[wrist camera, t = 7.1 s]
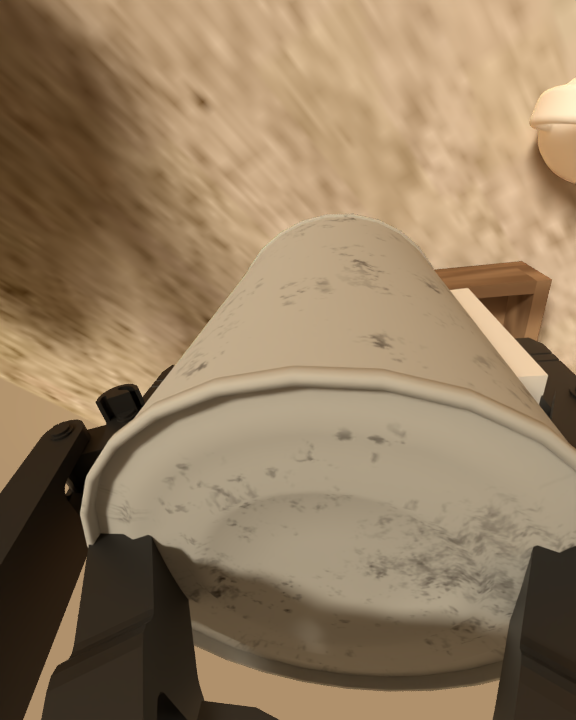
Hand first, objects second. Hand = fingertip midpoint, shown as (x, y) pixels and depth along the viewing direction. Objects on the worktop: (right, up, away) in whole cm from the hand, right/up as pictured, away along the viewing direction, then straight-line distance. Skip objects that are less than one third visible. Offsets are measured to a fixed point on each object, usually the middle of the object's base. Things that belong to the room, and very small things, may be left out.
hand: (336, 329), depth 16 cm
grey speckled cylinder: (0, +1, +1) cm, 1 cm away
